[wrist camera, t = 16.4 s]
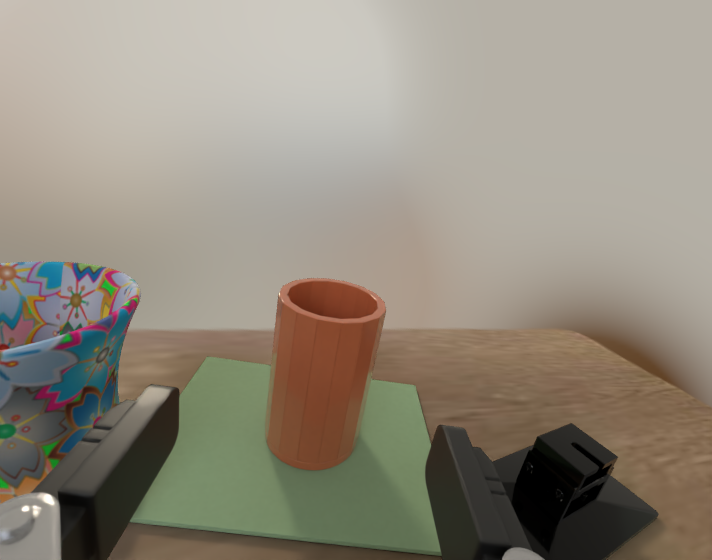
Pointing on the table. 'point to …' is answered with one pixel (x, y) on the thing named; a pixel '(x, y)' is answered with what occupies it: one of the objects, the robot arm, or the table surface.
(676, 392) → the table surface
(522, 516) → the black stand
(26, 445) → the mug
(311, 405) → the pot
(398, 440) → the placemat
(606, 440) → the table surface
